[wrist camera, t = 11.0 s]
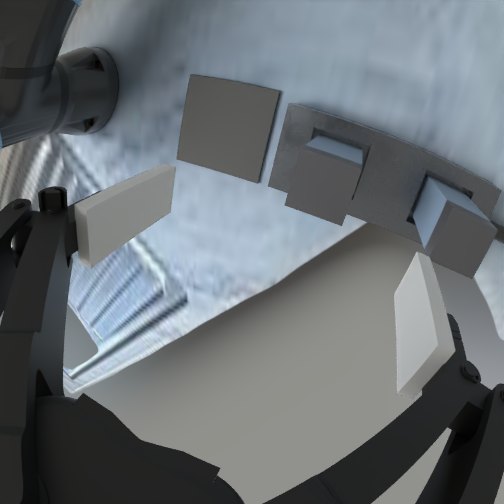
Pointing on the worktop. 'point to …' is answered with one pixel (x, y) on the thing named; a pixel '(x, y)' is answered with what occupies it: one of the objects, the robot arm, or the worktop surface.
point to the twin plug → (452, 227)
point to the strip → (378, 170)
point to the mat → (227, 126)
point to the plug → (325, 178)
